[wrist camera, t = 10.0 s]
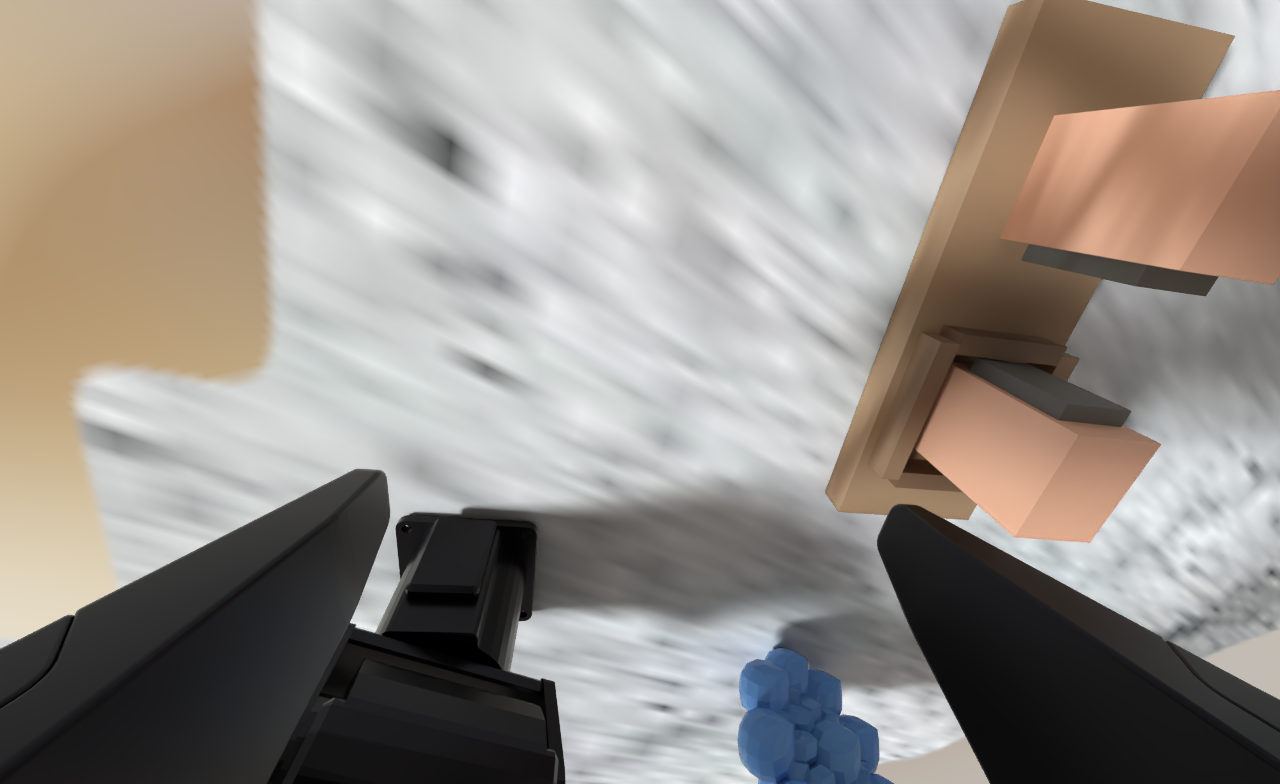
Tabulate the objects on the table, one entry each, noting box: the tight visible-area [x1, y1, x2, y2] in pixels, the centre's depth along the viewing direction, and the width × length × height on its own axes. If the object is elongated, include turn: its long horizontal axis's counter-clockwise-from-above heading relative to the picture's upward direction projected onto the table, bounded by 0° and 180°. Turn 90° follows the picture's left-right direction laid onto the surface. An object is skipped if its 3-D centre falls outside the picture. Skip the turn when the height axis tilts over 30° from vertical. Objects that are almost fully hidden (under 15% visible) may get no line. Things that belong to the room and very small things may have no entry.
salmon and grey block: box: [913, 357, 1161, 543], centre depth 18 cm, size 5×3×6 cm, turn 171°
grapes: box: [738, 648, 894, 784], centre depth 24 cm, size 12×7×12 cm, turn 50°
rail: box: [825, 0, 1280, 520], centre depth 17 cm, size 20×7×8 cm, turn 172°
